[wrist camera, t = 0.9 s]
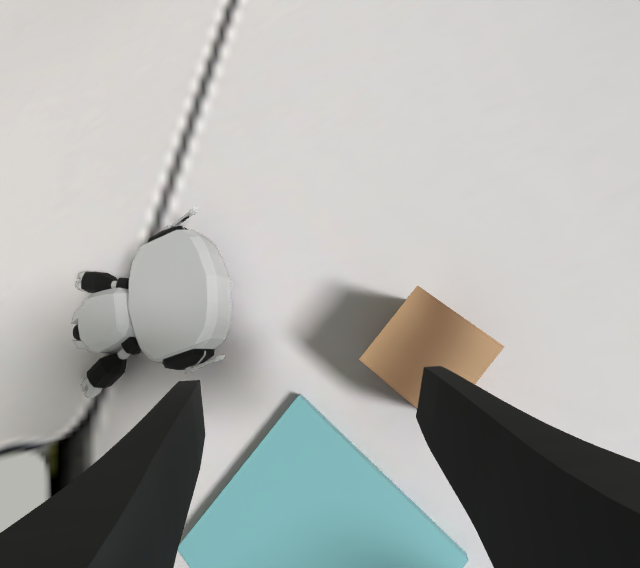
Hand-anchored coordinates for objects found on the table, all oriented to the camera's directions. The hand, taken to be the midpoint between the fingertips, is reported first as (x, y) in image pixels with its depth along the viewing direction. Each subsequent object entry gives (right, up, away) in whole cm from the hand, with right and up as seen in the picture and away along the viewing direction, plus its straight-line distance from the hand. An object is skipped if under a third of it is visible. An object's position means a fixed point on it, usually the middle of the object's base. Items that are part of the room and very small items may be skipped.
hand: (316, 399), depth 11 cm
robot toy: (-13, +1, +19) cm, 24 cm away
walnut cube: (+7, -1, +13) cm, 15 cm away
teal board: (0, -14, +12) cm, 19 cm away
